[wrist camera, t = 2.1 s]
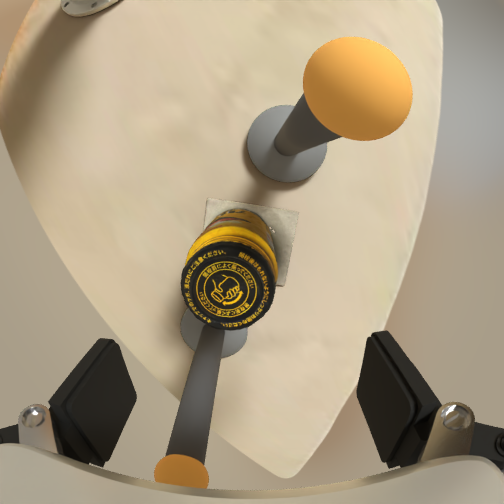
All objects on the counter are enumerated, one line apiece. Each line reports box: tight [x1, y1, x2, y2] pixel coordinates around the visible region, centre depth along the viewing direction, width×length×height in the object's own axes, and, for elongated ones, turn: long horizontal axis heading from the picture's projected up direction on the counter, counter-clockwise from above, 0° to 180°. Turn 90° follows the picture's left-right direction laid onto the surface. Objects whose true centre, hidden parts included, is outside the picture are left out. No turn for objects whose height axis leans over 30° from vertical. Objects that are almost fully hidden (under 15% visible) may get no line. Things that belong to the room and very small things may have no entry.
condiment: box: [181, 198, 299, 331], centre depth 21 cm, size 7×8×12 cm
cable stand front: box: [247, 37, 413, 182], centre depth 14 cm, size 7×7×20 cm
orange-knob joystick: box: [154, 308, 247, 489], centre depth 20 cm, size 7×7×20 cm
